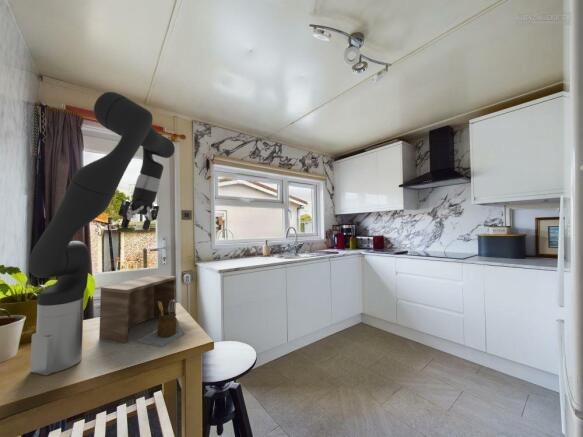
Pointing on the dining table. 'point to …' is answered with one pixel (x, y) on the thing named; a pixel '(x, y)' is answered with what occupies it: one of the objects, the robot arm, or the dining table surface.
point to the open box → (134, 304)
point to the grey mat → (159, 338)
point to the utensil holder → (166, 322)
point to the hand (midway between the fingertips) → (134, 229)
